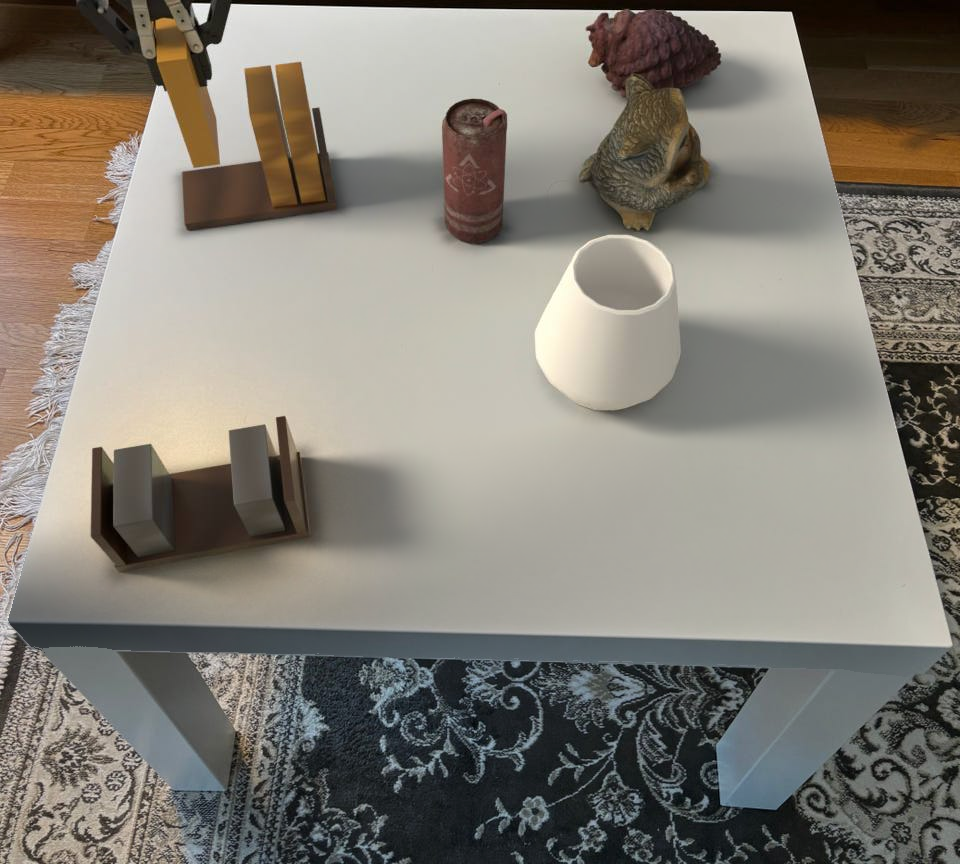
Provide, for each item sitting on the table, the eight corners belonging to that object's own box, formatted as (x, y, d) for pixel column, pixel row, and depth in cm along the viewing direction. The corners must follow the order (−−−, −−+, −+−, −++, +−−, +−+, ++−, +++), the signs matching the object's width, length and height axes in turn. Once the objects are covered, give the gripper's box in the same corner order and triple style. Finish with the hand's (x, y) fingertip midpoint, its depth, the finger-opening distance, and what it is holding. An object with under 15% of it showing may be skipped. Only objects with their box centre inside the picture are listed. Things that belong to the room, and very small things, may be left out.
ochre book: (193, 168, 88) (156, 62, 77) (190, 121, 91) (155, 13, 81) (220, 164, 88) (187, 58, 78) (216, 118, 91) (184, 10, 81)
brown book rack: (118, 572, 74) (87, 537, 68) (118, 488, 78) (89, 448, 72) (311, 536, 76) (297, 499, 70) (301, 456, 80) (287, 415, 74)
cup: (542, 305, 89) (554, 202, 77) (676, 326, 88) (709, 225, 76) (520, 416, 82) (529, 322, 70) (665, 441, 81) (699, 350, 69)
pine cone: (696, 43, 111) (744, 4, 101) (697, 122, 110) (746, 90, 101) (566, 21, 105) (604, -23, 96) (567, 104, 105) (605, 68, 95)
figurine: (721, 248, 93) (761, 133, 80) (582, 246, 93) (600, 131, 80) (704, 155, 100) (739, 35, 88) (575, 153, 100) (591, 33, 87)
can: (515, 231, 94) (522, 123, 82) (463, 253, 92) (462, 147, 80) (485, 195, 97) (488, 86, 85) (434, 217, 95) (430, 108, 83)
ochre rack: (186, 230, 94) (148, 131, 82) (184, 178, 98) (147, 76, 87) (338, 209, 95) (320, 109, 84) (329, 158, 99) (311, 56, 88)
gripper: (213, -141, 71) (257, 50, 86) (34, -124, 70) (110, 67, 85) (218, -90, 68) (263, 100, 82) (29, -71, 66) (109, 119, 81)
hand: (185, 82), depth 83 cm, fingers closed on ochre book, 2 cm apart
